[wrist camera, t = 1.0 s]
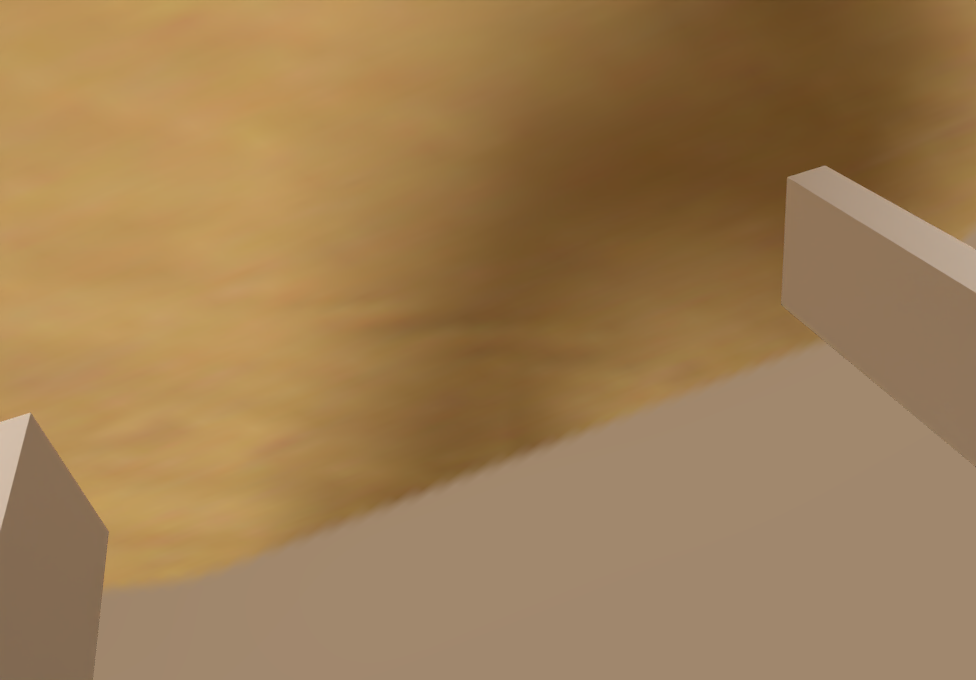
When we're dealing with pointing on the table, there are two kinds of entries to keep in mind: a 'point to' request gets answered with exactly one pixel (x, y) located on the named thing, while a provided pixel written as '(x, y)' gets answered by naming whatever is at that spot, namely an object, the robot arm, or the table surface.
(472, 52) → the table surface
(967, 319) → the robot arm
